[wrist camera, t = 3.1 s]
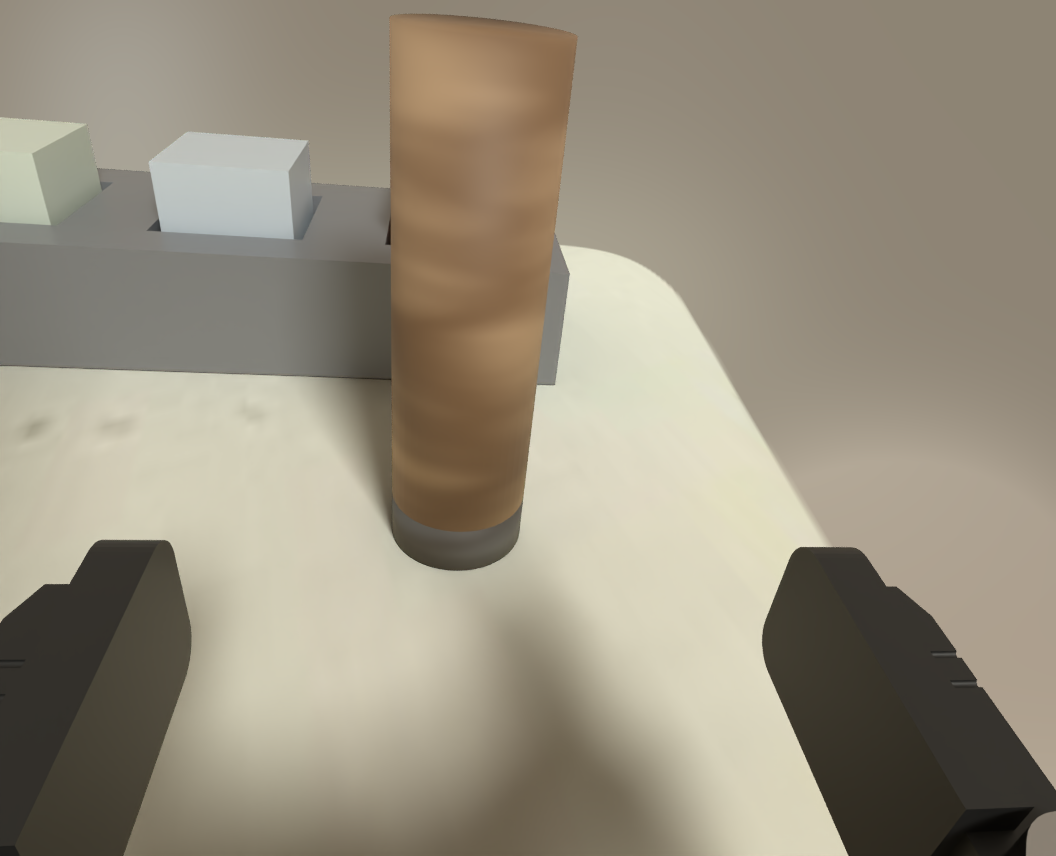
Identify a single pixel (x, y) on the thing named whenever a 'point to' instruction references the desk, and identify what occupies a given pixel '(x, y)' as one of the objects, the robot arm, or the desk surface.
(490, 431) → the brown wooden cylinder
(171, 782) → the desk surface
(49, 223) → the sage key
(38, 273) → the key console
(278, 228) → the grey-blue key
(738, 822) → the desk surface
